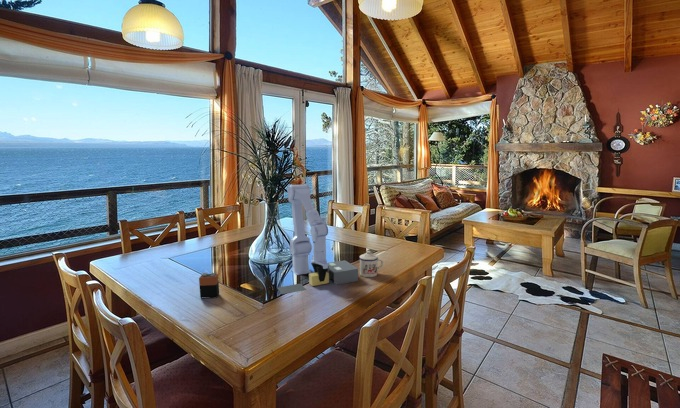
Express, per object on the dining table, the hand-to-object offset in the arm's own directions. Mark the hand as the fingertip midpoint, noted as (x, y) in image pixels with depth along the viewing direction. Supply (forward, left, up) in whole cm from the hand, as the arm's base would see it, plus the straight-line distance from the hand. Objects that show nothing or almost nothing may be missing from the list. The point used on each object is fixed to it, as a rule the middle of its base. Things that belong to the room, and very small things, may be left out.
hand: (320, 279), depth 156 cm
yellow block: (0, 0, -2) cm, 2 cm away
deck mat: (0, -13, -2) cm, 14 cm away
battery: (-8, -46, -3) cm, 47 cm away
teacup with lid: (-1, +28, -3) cm, 28 cm away
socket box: (-3, +12, -2) cm, 12 cm away
